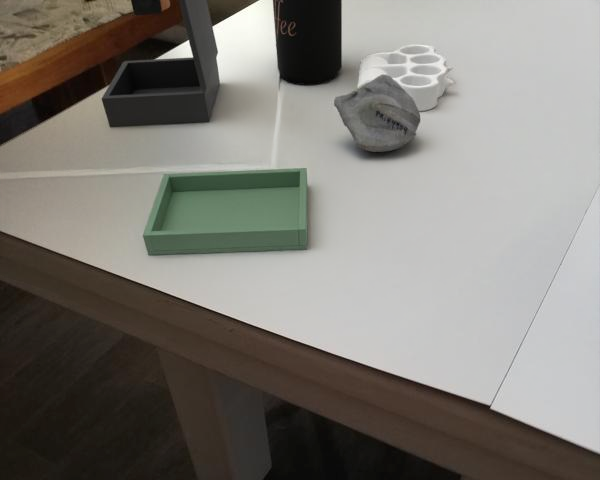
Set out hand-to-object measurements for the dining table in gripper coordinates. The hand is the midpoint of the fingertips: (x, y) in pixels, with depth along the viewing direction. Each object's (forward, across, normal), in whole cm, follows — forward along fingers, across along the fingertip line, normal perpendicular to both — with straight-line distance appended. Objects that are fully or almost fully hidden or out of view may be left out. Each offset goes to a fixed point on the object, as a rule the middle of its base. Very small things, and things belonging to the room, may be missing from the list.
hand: (151, 5), depth 69 cm
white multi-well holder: (+18, -18, +33) cm, 42 cm away
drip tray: (+18, +18, +8) cm, 27 cm away
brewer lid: (+4, -15, +2) cm, 15 cm away
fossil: (+18, +1, +27) cm, 32 cm away
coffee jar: (+18, -26, +18) cm, 36 cm away
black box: (+17, -15, -4) cm, 23 cm away
